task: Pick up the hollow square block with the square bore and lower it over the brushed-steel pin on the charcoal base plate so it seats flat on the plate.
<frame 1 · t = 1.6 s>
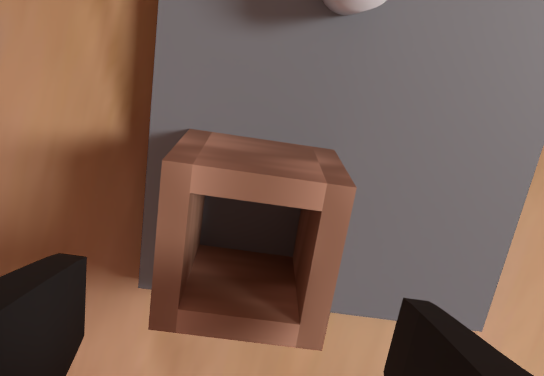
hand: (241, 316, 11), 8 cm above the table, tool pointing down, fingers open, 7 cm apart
hollow square block: (252, 207, 17), point 1 cm above the table, touching pin plate
pin plate: (350, 94, 17), on the table
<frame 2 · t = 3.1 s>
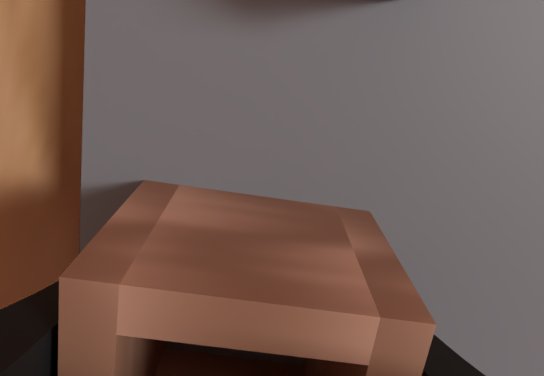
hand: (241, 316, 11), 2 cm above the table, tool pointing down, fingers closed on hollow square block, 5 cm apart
hollow square block: (243, 295, 11), point 1 cm above the table, touching gripper, pin plate
pin plate: (392, 123, 11), on the table
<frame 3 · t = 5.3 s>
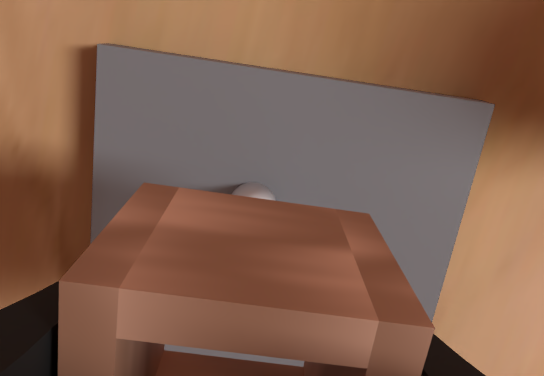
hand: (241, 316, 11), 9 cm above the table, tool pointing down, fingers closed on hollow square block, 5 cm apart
hollow square block: (243, 297, 11), point 8 cm above the table, touching gripper
pin plate: (265, 275, 20), on the table
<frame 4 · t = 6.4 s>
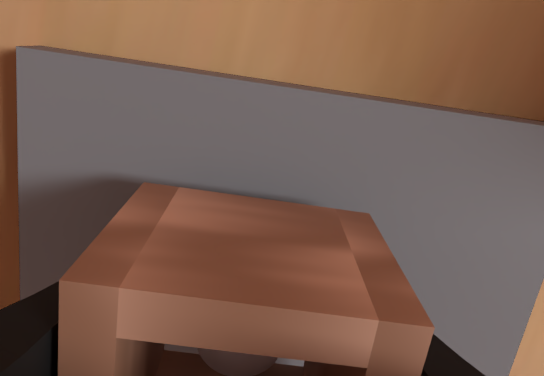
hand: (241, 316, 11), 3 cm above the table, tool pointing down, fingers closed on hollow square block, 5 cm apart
hollow square block: (243, 297, 12), point 2 cm above the table, touching gripper
pin plate: (264, 357, 15), on the table
when the fingers open (3 cm above the table, at t = 7.4 s): hollow square block stays where it is, resting on pin plate.
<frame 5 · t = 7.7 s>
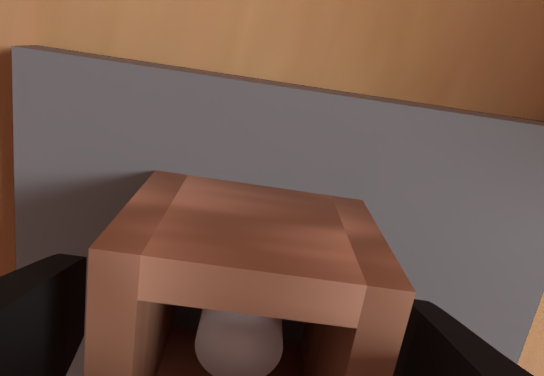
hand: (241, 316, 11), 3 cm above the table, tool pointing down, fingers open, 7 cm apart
hollow square block: (246, 277, 12), point 1 cm above the table, touching pin plate
pin plate: (264, 360, 15), on the table
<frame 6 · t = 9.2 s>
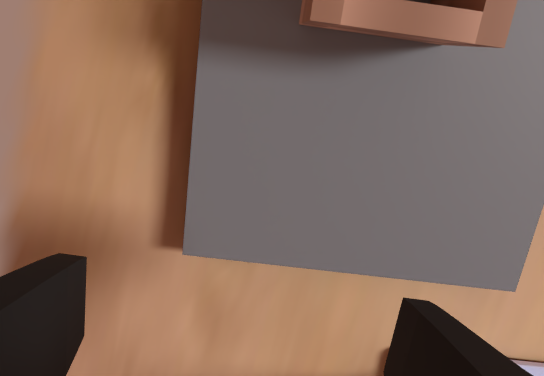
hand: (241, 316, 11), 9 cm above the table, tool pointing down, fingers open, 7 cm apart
pin plate: (386, 61, 18), on the table
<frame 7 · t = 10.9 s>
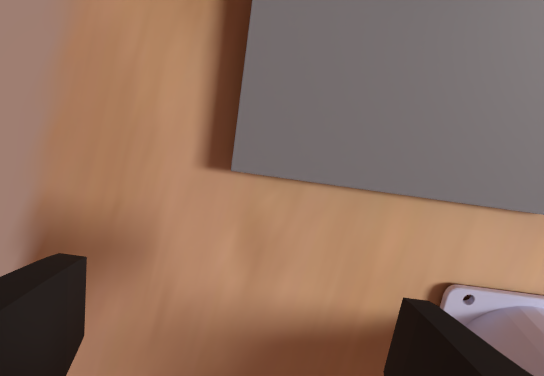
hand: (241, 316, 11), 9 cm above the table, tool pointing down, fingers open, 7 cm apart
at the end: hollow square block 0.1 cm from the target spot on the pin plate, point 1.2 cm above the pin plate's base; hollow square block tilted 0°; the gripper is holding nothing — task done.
